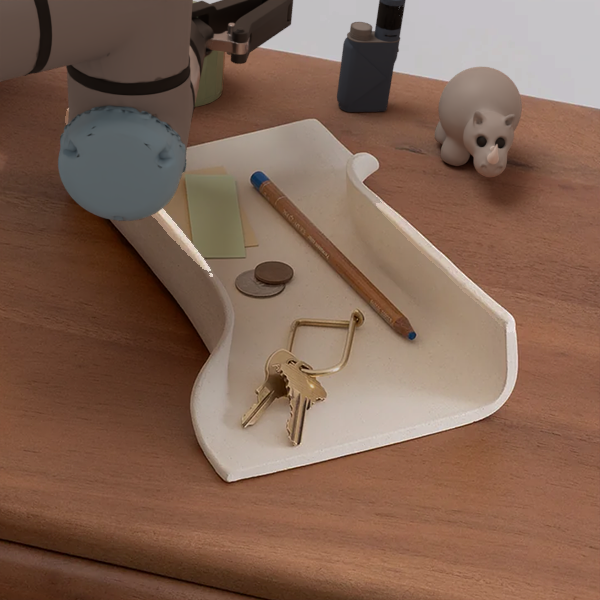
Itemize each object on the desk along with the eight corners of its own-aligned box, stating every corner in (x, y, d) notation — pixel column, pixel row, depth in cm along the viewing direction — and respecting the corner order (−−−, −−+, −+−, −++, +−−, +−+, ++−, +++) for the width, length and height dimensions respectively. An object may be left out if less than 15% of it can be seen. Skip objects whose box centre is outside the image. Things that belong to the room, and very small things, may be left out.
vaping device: (392, 112, 102) (412, -9, 95) (339, 113, 101) (355, -10, 94) (385, 100, 104) (404, -20, 97) (333, 100, 103) (348, -21, 96)
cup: (113, 83, 101) (112, 13, 97) (178, 59, 107) (180, -8, 103) (176, 116, 97) (178, 44, 93) (241, 90, 103) (245, 21, 99)
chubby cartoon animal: (438, 203, 90) (456, 111, 84) (426, 134, 99) (442, 49, 94) (522, 210, 90) (546, 120, 85) (503, 141, 99) (523, 56, 94)
